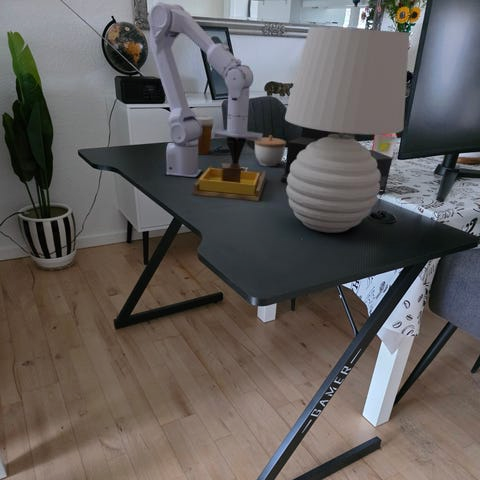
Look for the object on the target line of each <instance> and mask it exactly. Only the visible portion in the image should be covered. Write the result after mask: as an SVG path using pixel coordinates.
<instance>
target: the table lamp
mask: <svg viewBox="0 0 480 480" xmlns="http://www.w3.org/2000/svg"><path fill="white" fill-rule="evenodd" d="M409 41H410V32H403V31H394V30H393V31H392V30H378V29H364V28H363V29H361V28H347V27H346V28H345V27H330V26H329V27H327V26H309V27H308V31H307V35H306V37H305V41H304V45H303V49H302V52H301V57H300V61H299V64H298V67H297V71H296V75H295V78H294V82H293V86H292V89H291V94H290V97H289V100H288V105H287V108H286V112H285V115H284V120H285V121H286V122H288V123H289V124H293V125H295V126H299V127H301V128H302V127H307V128H311V129H317V130H323V131H330V132H339V134H330V135H328V137H325V138H321V139H319V140H318V141H316V142H312V143H310V144H309V145H308V146H307V147H306V149H304V150H302V151H300V152H299V154H298V155H297V159H296V160H294V161H293V162H292V164H291V166H290V173H289V174H288V177H287V182H286V183H287V185H286V190H285V191H286V195H287V197H288V205H289V207H290V208H291V209H292V210H293V211H292V212H293V214H294V216H295V217H296V218H297V219H298V220H299V221H300V222H301V223H302V224H303V225H304V226H305V227H307V228H309V229H311V230H314V231H317V232H320V233H329V234H330V233H333V234H336V233H337V234H338V233H343V232H346V231H348V230H350V229H352V228H354V227H356V226H358V225H360V224H361V223H362V222H363V219H365V218H367V217H368V216H369V215H370V213H371V212H372V208H373V207H374V206H375V205H376V203H377V201H378V195H379V194H378V193H379V190H380V184H379V181H380V177H381V174H380V171H379V169H377V162H376V159H374V158H373V157H372V156H371V153H370V151H369V150H370V149H368V148H367V147H366V146H363V144H362V143H361V142H359V141H358V140H355V139H354V137H353V136H351V135H353V134H354V135H375V134H392V133H396V134H398V133H401V132H402V131H404V128H405V127H404V125H405V110H406V109H405V108H406V92H407V75H408V59H409V44H410V43H409ZM343 133H345V135H343ZM348 134H351V135H348Z"/></svg>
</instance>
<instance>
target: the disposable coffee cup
mask: <svg viewBox="0 0 480 480" xmlns="http://www.w3.org/2000/svg"><path fill="white" fill-rule="evenodd" d="M195 115H196V114H195ZM196 118H197V120H198V121H199V122H200V124H201V126H202V135H201V137H200V138H199V139H198V155H208V154H210V149H211V143H212V137H211V131H212V130H213V129H214V128H213V126H214V123H215V121H214V118H213V116H208V115H200V114H199V115H198V114H197V115H196Z"/></svg>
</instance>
